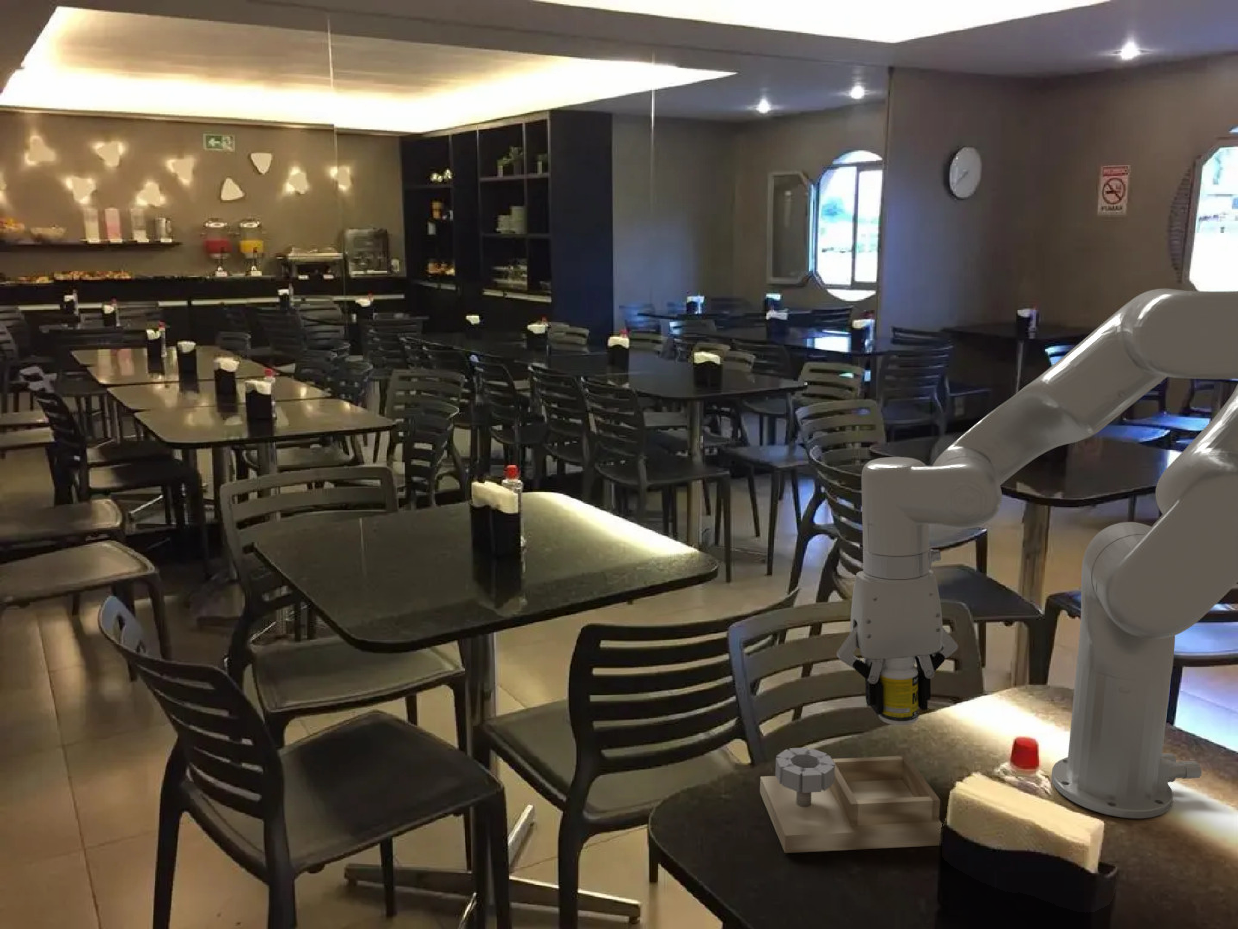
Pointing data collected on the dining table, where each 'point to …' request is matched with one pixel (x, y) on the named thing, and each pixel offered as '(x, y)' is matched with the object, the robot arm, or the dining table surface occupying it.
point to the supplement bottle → (899, 691)
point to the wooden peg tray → (857, 808)
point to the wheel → (805, 770)
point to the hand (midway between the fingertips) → (898, 706)
